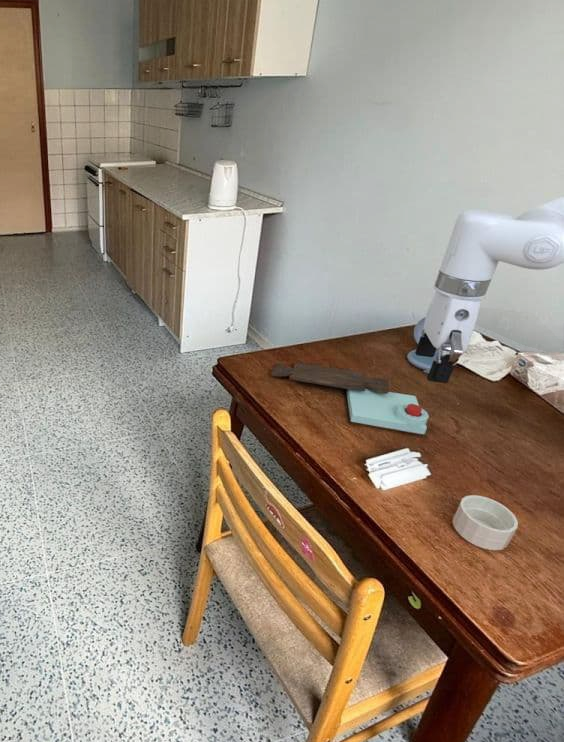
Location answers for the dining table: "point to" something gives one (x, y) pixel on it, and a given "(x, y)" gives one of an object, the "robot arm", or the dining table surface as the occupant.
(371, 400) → the scale
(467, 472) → the dining table surface
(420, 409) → the tare button
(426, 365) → the open compact mirror
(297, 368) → the dark wooden board
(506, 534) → the bowl
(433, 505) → the dining table surface
